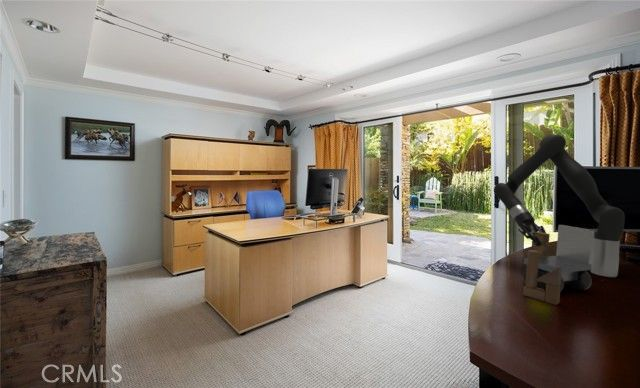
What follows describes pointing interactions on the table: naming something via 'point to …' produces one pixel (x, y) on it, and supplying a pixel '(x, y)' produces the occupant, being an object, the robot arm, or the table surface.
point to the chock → (544, 243)
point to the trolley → (569, 258)
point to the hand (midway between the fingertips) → (543, 245)
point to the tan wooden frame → (550, 278)
